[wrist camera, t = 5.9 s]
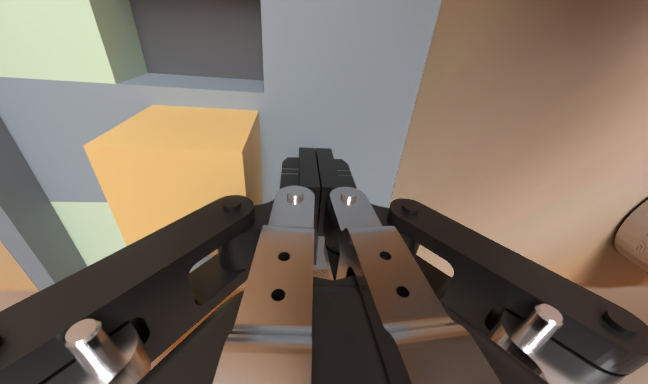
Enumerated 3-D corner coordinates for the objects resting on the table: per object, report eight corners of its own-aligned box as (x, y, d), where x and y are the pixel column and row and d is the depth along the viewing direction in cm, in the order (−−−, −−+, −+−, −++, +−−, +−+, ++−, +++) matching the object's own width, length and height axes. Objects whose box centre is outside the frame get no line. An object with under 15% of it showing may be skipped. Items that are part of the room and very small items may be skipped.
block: (258, 110, 12) (242, 151, 8) (262, 193, 14) (251, 254, 11) (152, 104, 11) (82, 145, 8) (175, 192, 14) (130, 255, 10)
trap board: (422, -39, 12) (490, -70, 8) (363, 239, 21) (379, 293, 17) (-66, -102, 10) (-337, -193, 6) (103, 240, 19) (49, 303, 15)
